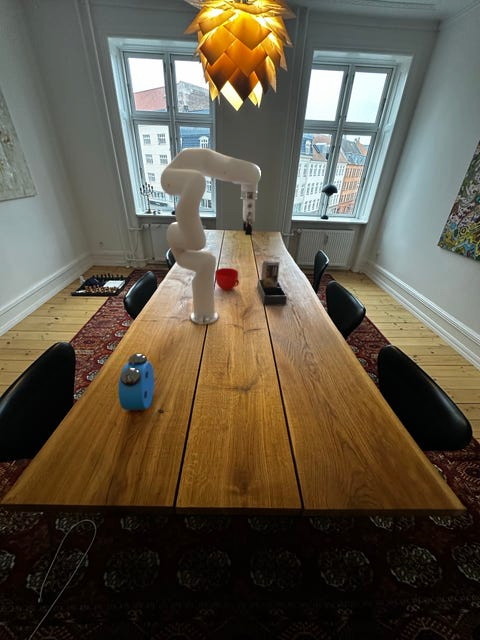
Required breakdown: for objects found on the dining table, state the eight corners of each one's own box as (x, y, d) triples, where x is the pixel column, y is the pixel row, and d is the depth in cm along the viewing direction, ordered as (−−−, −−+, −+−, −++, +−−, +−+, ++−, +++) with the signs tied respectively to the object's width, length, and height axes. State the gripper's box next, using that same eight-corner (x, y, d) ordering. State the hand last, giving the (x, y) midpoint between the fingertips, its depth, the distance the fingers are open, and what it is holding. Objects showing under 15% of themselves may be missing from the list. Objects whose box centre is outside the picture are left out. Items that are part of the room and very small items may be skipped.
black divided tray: (285, 304, 134) (287, 295, 131) (263, 305, 132) (264, 296, 130) (276, 287, 153) (277, 279, 150) (257, 287, 152) (257, 279, 149)
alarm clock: (137, 385, 81) (128, 347, 73) (157, 385, 81) (150, 347, 74) (124, 421, 70) (112, 380, 62) (147, 420, 70) (138, 379, 63)
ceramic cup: (228, 297, 139) (228, 280, 133) (211, 287, 150) (210, 270, 145) (246, 291, 146) (247, 275, 141) (228, 282, 157) (228, 266, 152)
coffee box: (277, 289, 149) (280, 261, 141) (275, 293, 143) (279, 265, 135) (261, 287, 151) (264, 260, 142) (259, 291, 145) (262, 263, 137)
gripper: (259, 197, 115) (257, 236, 123) (254, 194, 130) (252, 229, 138) (243, 197, 114) (241, 236, 123) (239, 193, 129) (238, 229, 137)
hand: (247, 232), depth 130 cm, fingers open, 9 cm apart
